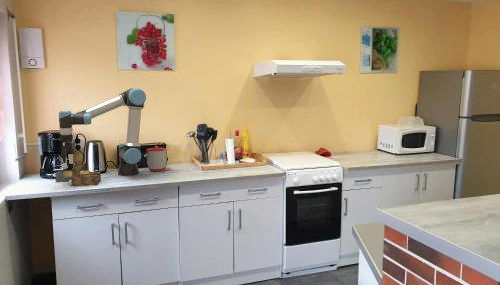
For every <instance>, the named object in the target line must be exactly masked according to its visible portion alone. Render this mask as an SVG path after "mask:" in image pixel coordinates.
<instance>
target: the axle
mask: <svg viewBox="0 0 500 285" xmlns="http://www.w3.org/2000/svg"><path fill="white" fill-rule="evenodd" d="M90 172H91V170H83V171H80V175H90ZM63 176H64V177H71V176H72V170H71V171H65V172H64V173H63Z"/></svg>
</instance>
